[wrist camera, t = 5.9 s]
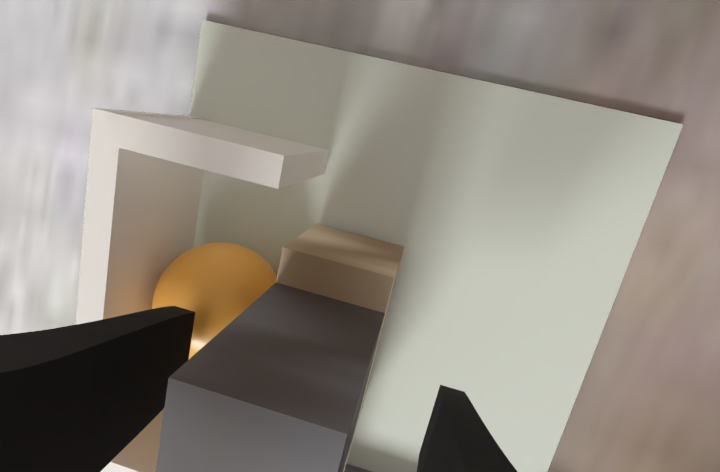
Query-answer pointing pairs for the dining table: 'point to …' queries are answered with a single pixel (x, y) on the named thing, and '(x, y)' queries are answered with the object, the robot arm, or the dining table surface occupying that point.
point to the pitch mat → (444, 224)
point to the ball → (213, 286)
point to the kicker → (286, 365)
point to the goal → (161, 212)
